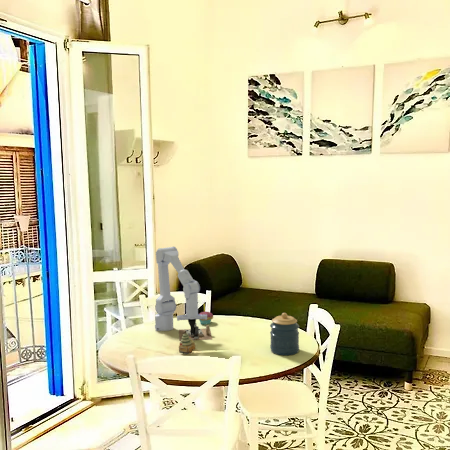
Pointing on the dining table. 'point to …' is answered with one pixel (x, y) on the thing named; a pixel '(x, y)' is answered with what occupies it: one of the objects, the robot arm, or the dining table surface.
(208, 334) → the dowel
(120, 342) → the dining table surface
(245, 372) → the dining table surface
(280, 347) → the canister
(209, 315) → the cupcake
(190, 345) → the topped waffle
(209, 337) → the board
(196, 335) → the flange
